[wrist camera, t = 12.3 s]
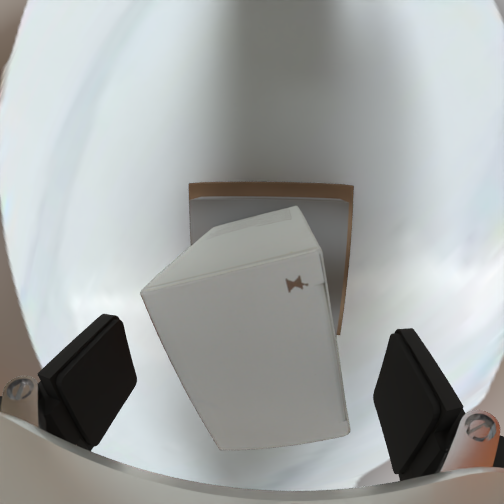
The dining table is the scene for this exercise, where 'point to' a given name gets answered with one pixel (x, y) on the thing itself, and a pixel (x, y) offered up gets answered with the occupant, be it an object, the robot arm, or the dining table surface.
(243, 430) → the small box
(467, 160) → the dining table surface
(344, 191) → the tower base
